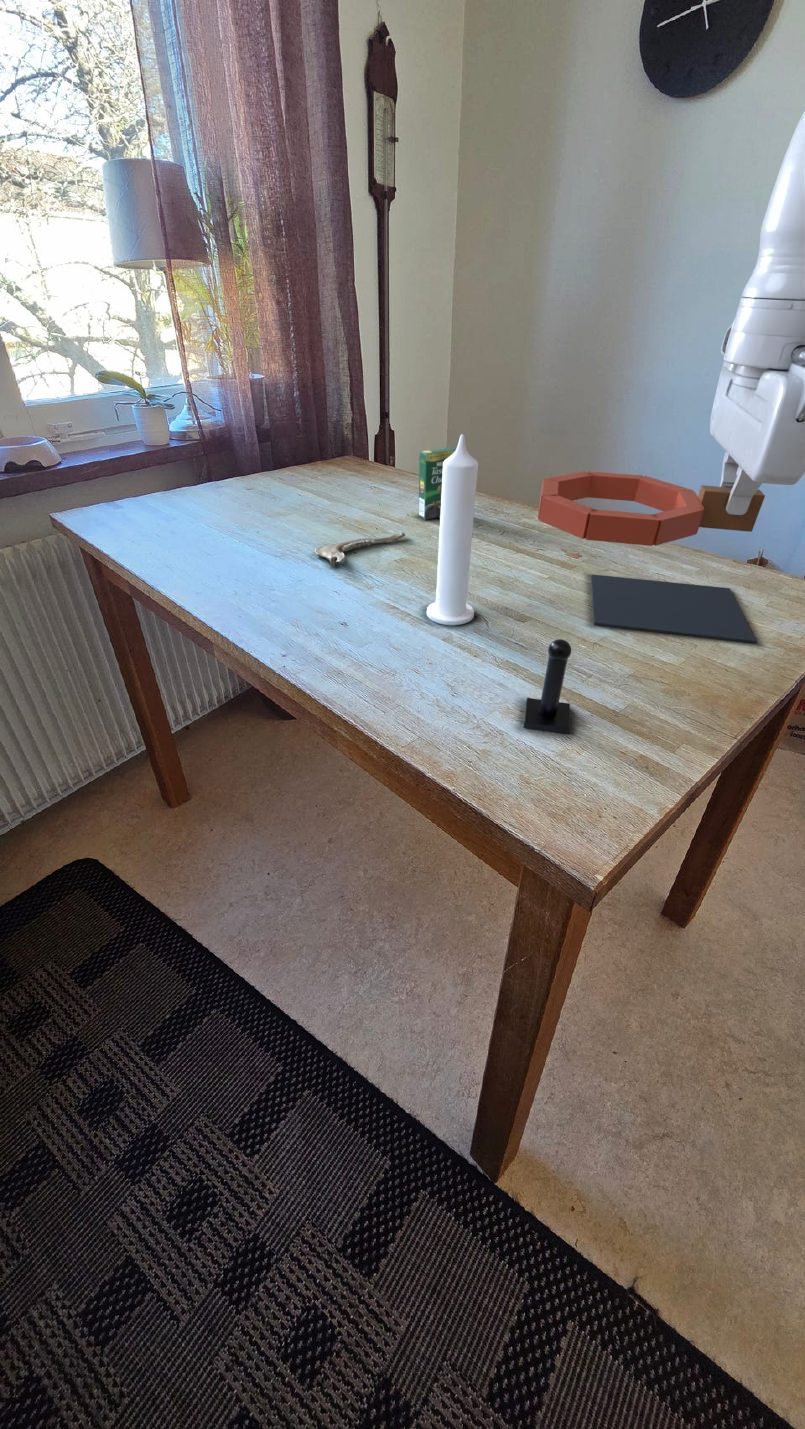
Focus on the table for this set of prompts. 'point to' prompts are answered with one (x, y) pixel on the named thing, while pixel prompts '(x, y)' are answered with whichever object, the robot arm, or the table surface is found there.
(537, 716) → the peg stand
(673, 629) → the mat
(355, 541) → the jawbone
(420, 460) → the coffee box
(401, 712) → the table surface
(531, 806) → the table surface
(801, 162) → the robot arm
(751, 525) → the hoop
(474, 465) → the candle
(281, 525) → the table surface
